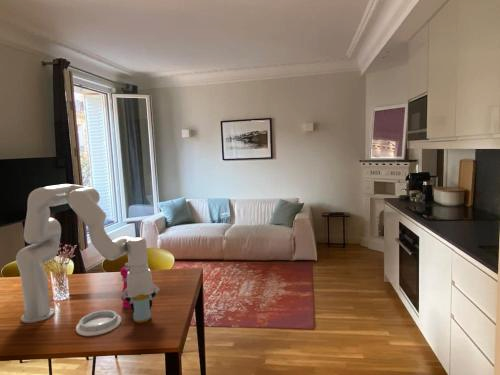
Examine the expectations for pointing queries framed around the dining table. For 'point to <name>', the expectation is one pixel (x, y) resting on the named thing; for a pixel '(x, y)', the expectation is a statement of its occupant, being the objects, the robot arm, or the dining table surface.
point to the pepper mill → (125, 285)
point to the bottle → (141, 307)
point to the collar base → (98, 323)
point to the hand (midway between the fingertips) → (141, 309)
